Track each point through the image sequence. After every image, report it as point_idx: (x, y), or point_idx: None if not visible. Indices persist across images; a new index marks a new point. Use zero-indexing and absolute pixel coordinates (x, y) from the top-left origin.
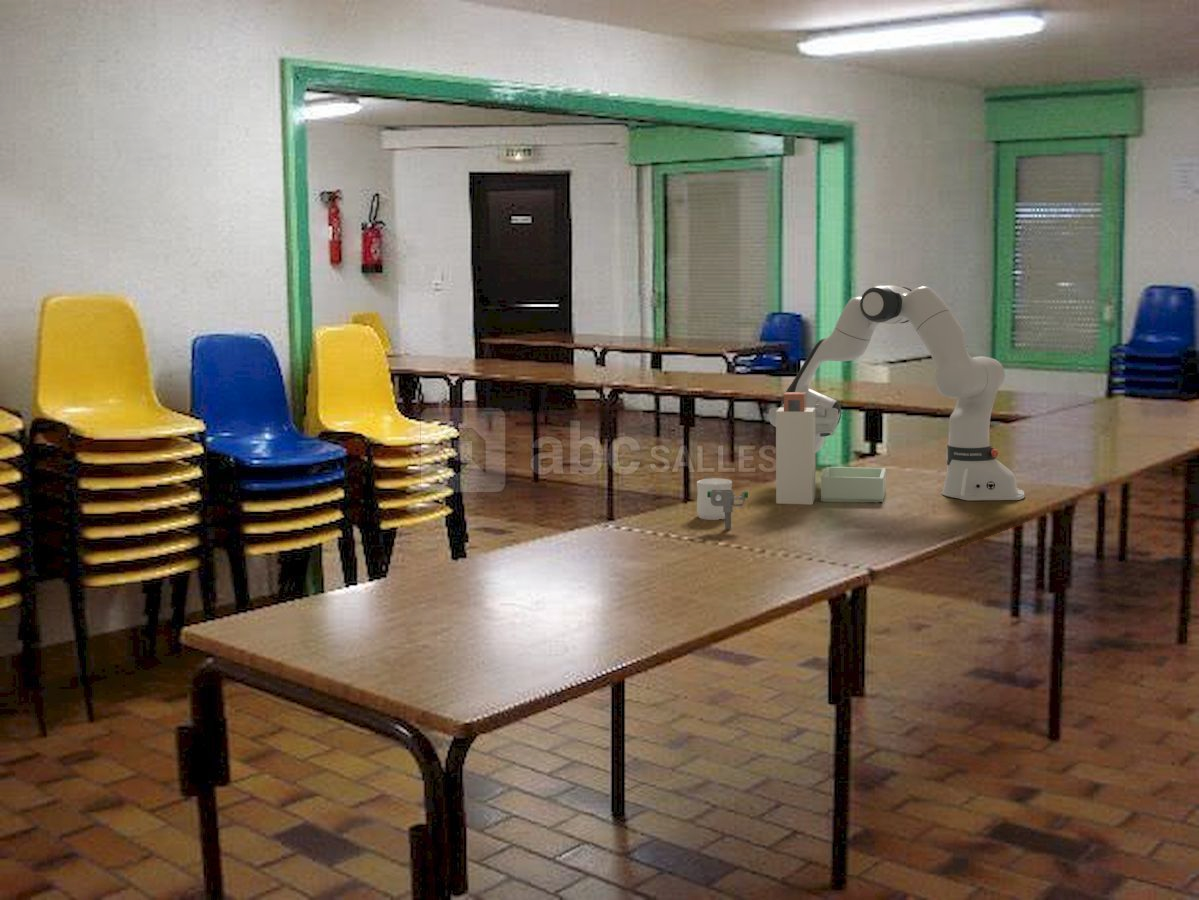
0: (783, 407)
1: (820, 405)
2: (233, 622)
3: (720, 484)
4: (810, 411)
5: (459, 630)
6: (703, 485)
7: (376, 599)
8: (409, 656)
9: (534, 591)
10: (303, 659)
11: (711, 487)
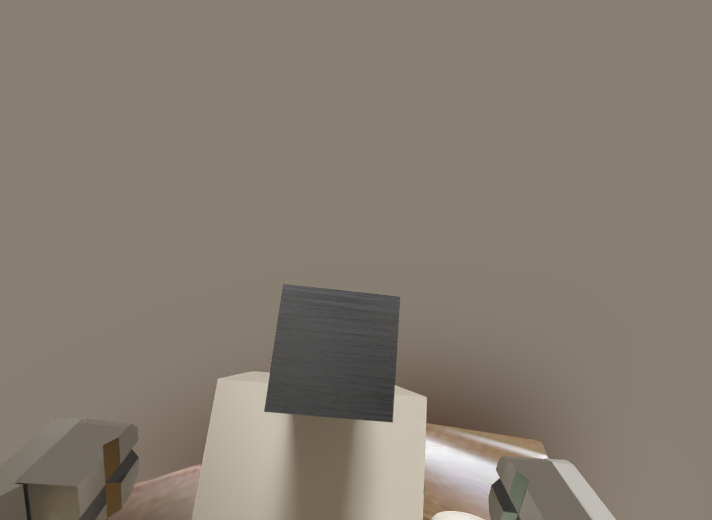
0: (405, 395)
1: (50, 435)
2: (533, 442)
3: (436, 514)
4: (259, 372)
5: (430, 435)
6: (467, 516)
7: (511, 451)
8: (426, 428)
9: (440, 453)
10: (460, 429)
11: (451, 518)
